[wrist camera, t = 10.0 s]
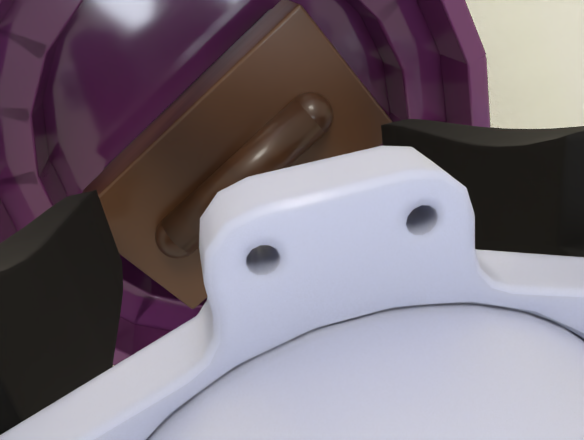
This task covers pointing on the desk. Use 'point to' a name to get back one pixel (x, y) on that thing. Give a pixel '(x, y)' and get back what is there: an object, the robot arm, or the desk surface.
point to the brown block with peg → (233, 141)
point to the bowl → (177, 78)
